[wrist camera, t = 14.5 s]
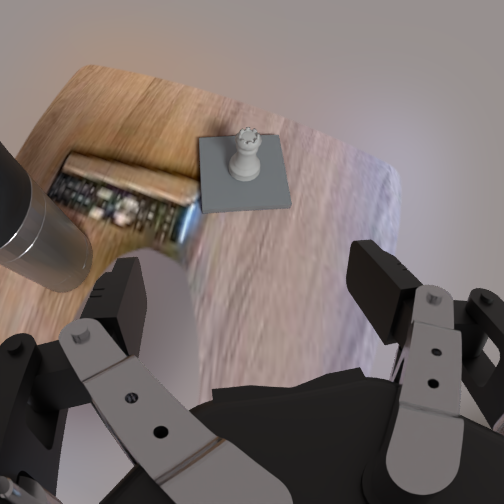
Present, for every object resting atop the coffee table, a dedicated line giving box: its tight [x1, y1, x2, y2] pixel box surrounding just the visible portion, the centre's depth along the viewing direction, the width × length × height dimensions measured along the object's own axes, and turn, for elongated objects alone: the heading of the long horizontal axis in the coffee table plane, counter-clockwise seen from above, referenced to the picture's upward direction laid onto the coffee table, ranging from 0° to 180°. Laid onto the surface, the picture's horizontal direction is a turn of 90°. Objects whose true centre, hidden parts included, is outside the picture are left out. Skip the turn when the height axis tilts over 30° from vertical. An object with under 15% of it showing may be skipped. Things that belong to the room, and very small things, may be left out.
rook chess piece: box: [228, 127, 262, 181], centre depth 41 cm, size 4×4×8 cm
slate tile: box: [199, 135, 292, 214], centre depth 45 cm, size 12×12×1 cm
